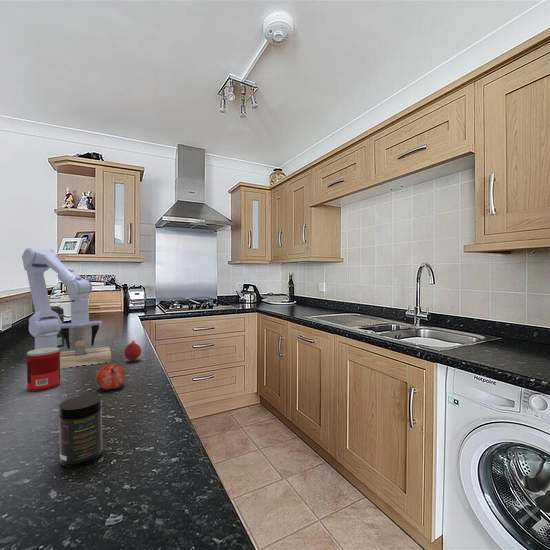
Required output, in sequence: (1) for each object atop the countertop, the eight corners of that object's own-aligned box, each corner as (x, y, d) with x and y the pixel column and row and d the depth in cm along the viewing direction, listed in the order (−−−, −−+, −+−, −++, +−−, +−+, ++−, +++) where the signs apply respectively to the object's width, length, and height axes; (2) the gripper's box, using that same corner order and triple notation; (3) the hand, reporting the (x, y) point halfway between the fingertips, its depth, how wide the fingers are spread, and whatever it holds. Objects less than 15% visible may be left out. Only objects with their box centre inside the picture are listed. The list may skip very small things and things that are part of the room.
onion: (134, 364, 115) (134, 342, 115) (120, 363, 116) (120, 342, 116) (144, 359, 121) (144, 339, 121) (131, 359, 122) (130, 338, 122)
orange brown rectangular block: (76, 360, 120) (75, 341, 120) (85, 358, 122) (85, 340, 122) (75, 363, 116) (75, 343, 116) (85, 362, 117) (85, 342, 117)
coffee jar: (43, 345, 146) (42, 306, 146) (63, 342, 151) (62, 304, 151) (44, 349, 138) (43, 307, 138) (65, 346, 143) (64, 306, 143)
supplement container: (110, 452, 59) (110, 397, 59) (74, 473, 53) (73, 412, 53) (88, 444, 62) (87, 392, 62) (51, 463, 56) (50, 405, 55)
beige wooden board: (50, 361, 120) (50, 353, 120) (109, 353, 130) (108, 346, 130) (46, 371, 108) (46, 362, 108) (111, 361, 118) (111, 354, 118)
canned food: (66, 383, 95) (65, 348, 95) (39, 393, 88) (38, 354, 88) (48, 380, 98) (48, 346, 98) (20, 390, 90) (20, 352, 90)
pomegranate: (94, 395, 91) (93, 383, 84) (99, 371, 96) (98, 358, 89) (122, 394, 94) (123, 382, 87) (125, 371, 99) (126, 358, 92)
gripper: (56, 314, 111) (56, 351, 112) (102, 310, 119) (102, 346, 119) (57, 312, 117) (58, 347, 118) (101, 309, 125) (101, 342, 125)
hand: (80, 346), depth 119 cm, fingers open, 7 cm apart
